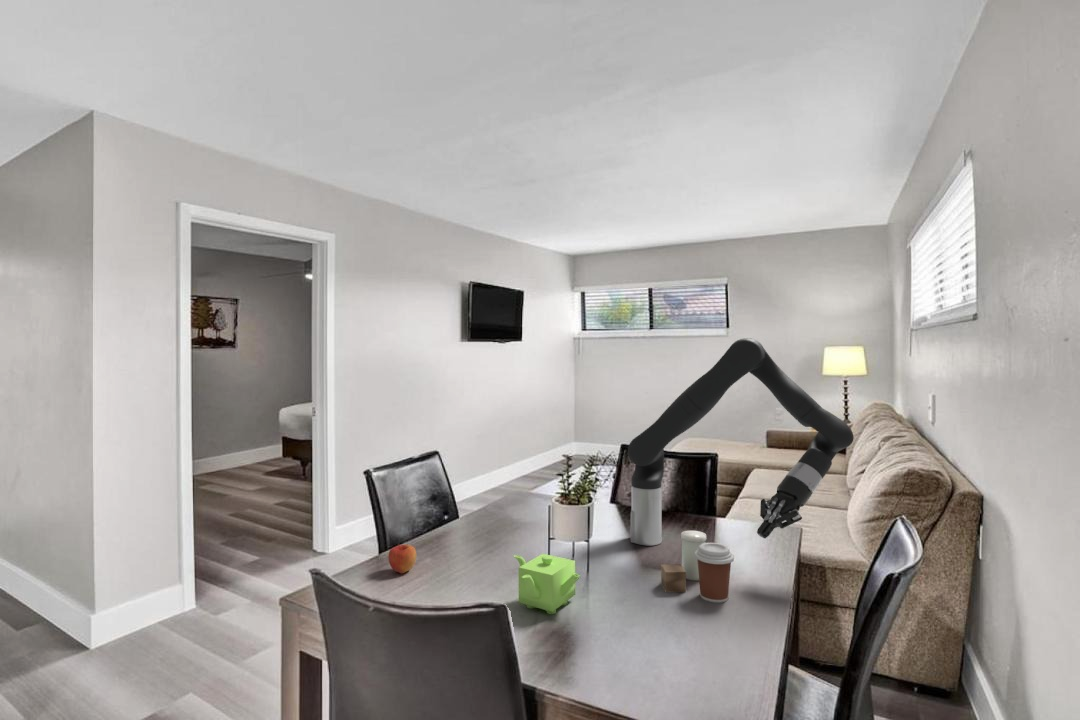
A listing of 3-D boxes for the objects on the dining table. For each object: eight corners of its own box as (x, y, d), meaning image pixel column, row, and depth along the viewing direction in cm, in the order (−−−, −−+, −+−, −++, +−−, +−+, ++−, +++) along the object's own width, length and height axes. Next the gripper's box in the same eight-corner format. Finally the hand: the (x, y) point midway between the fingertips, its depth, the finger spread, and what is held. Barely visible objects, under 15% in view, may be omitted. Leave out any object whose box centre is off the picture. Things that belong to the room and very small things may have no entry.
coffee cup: (702, 586, 143) (702, 538, 143) (738, 594, 138) (738, 545, 138) (688, 598, 136) (688, 548, 136) (727, 608, 130) (727, 556, 130)
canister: (681, 579, 147) (681, 537, 147) (681, 570, 154) (681, 529, 153) (706, 581, 146) (706, 539, 146) (706, 572, 152) (705, 531, 152)
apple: (422, 569, 155) (421, 540, 155) (404, 579, 148) (404, 548, 148) (400, 565, 158) (400, 536, 158) (382, 574, 152) (382, 544, 151)
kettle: (522, 622, 124) (522, 571, 124) (509, 596, 138) (508, 550, 138) (587, 614, 128) (587, 564, 128) (568, 589, 142) (567, 544, 142)
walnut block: (665, 592, 140) (665, 572, 140) (661, 584, 145) (661, 564, 145) (685, 592, 140) (685, 572, 140) (680, 584, 145) (680, 564, 145)
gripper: (773, 469, 153) (735, 518, 149) (811, 480, 141) (771, 534, 137) (788, 487, 155) (751, 536, 151) (827, 499, 143) (788, 553, 139)
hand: (760, 535), depth 144 cm, fingers closed
